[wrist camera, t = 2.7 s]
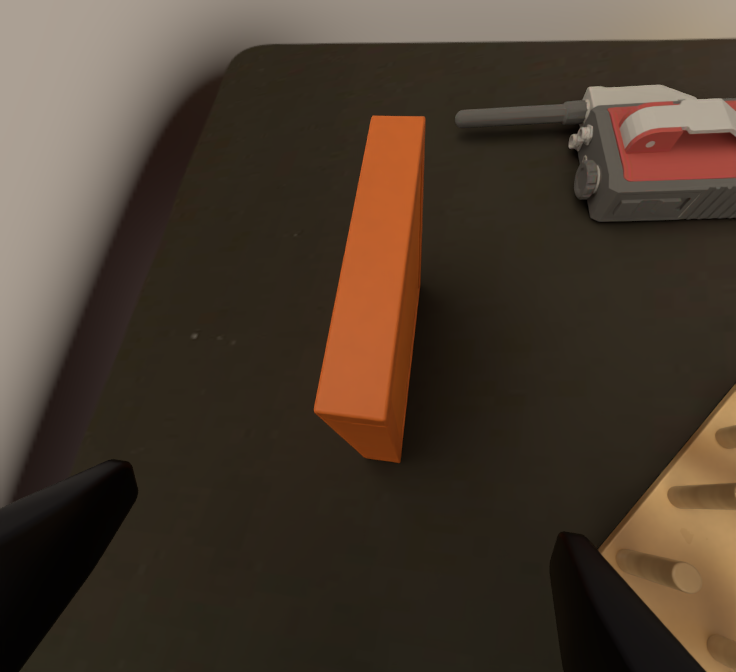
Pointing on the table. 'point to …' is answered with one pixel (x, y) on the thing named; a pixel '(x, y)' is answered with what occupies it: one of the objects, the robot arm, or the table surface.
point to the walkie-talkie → (641, 150)
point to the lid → (377, 295)
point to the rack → (689, 542)
